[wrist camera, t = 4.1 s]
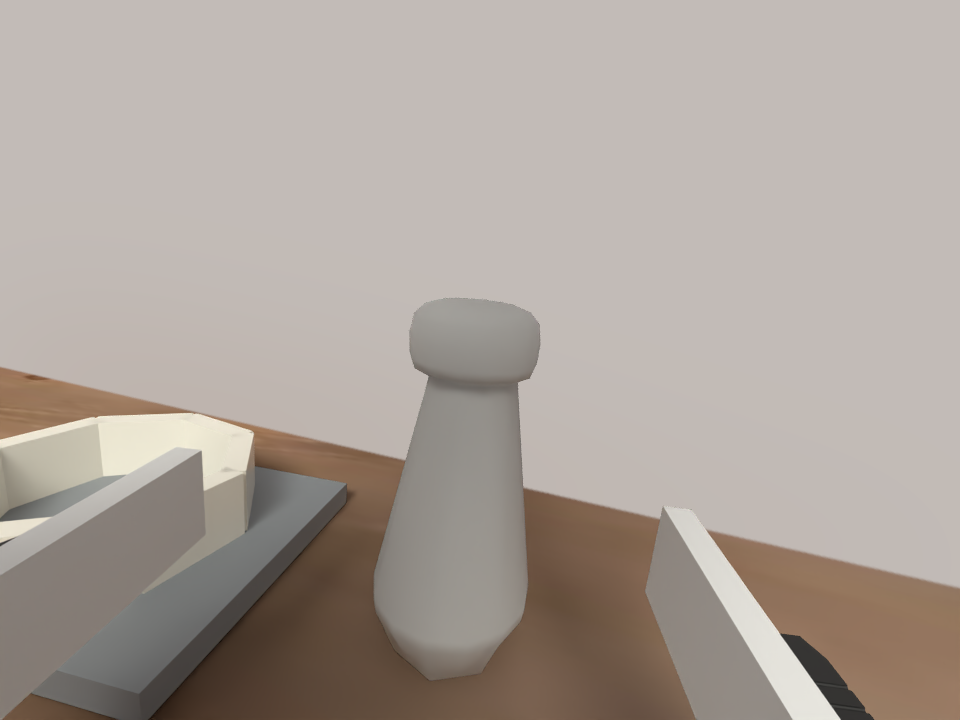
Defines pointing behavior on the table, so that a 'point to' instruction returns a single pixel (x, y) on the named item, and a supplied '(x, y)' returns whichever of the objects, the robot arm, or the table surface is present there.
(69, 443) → the ring holder
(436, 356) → the salt shaker
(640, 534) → the table surface
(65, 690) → the slate board
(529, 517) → the table surface
